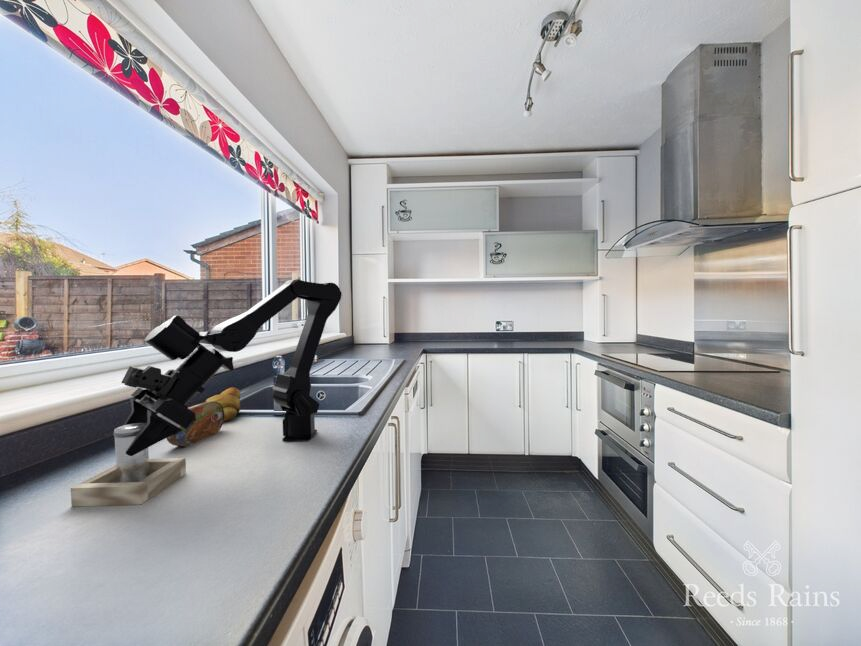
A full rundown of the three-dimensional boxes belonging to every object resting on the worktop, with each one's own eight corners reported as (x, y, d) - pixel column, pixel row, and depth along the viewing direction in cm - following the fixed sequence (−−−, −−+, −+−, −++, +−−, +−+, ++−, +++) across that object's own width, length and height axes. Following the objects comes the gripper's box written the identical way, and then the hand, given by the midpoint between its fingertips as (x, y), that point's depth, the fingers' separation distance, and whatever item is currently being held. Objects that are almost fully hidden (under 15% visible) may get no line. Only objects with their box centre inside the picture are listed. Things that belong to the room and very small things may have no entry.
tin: (174, 452, 79) (173, 414, 79) (163, 451, 80) (161, 414, 80) (226, 429, 94) (225, 397, 94) (216, 428, 95) (214, 397, 94)
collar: (186, 473, 69) (185, 457, 69) (140, 504, 58) (139, 486, 58) (128, 474, 68) (127, 459, 68) (71, 506, 57) (70, 488, 57)
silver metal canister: (156, 485, 64) (153, 424, 64) (125, 497, 60) (121, 432, 60) (142, 480, 66) (139, 421, 66) (111, 491, 62) (107, 429, 62)
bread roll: (241, 421, 101) (240, 393, 101) (201, 427, 96) (199, 397, 96) (240, 410, 112) (239, 384, 112) (204, 415, 108) (203, 388, 107)
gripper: (142, 346, 71) (67, 413, 63) (170, 352, 59) (81, 437, 51) (190, 378, 77) (127, 444, 70) (224, 390, 65) (152, 471, 58)
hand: (122, 448), depth 62 cm, fingers open, 9 cm apart
